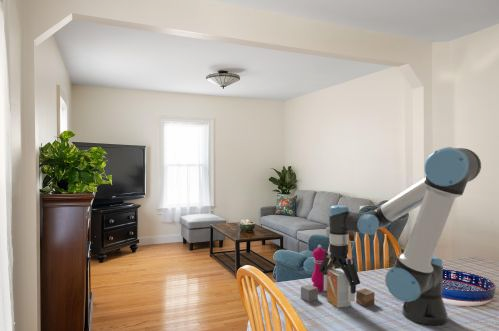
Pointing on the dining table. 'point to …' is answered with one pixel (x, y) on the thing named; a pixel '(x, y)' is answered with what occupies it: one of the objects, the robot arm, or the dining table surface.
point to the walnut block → (365, 297)
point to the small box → (337, 288)
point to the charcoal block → (309, 293)
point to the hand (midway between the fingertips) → (338, 295)
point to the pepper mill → (317, 275)
